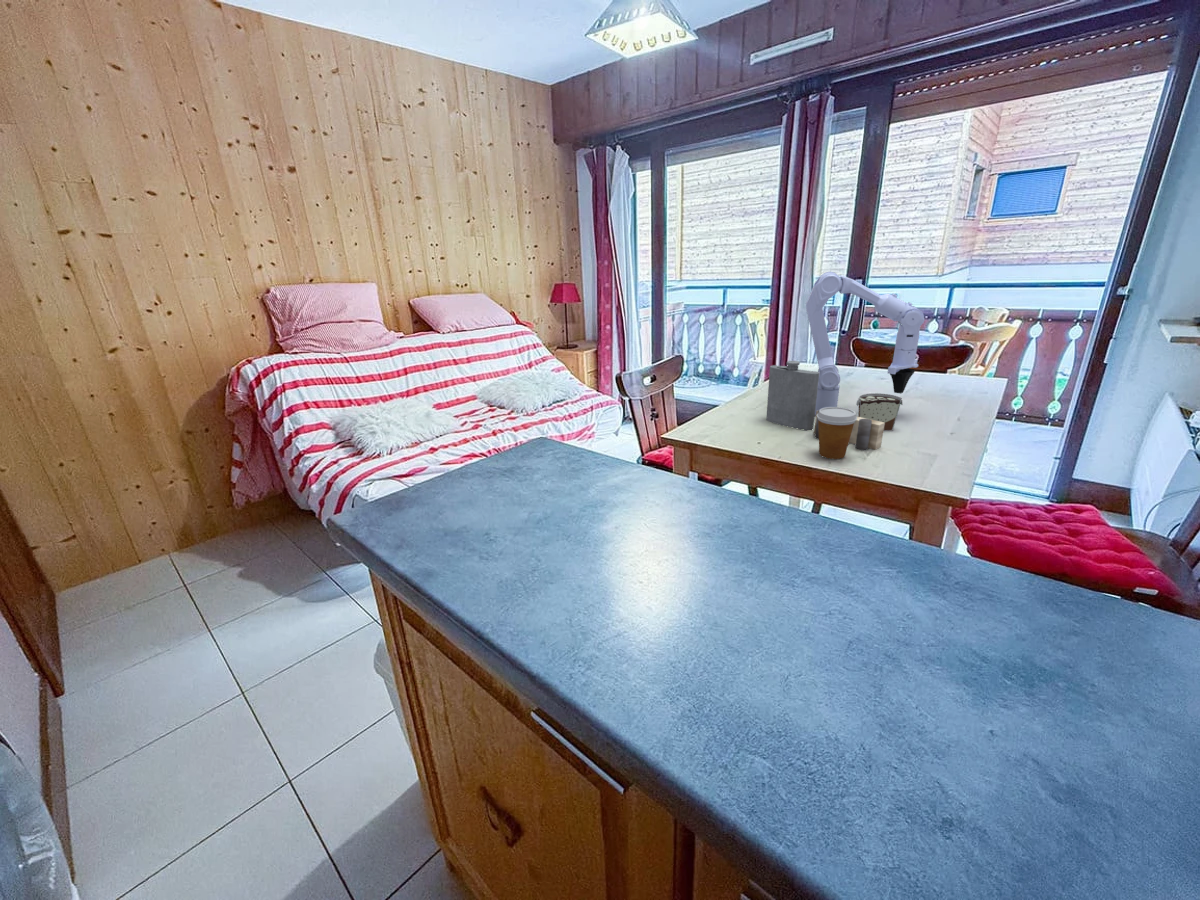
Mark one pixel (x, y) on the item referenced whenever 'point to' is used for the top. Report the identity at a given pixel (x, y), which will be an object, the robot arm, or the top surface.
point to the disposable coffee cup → (835, 431)
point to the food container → (880, 408)
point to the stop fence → (862, 433)
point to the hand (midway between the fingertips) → (898, 392)
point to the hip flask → (792, 396)
